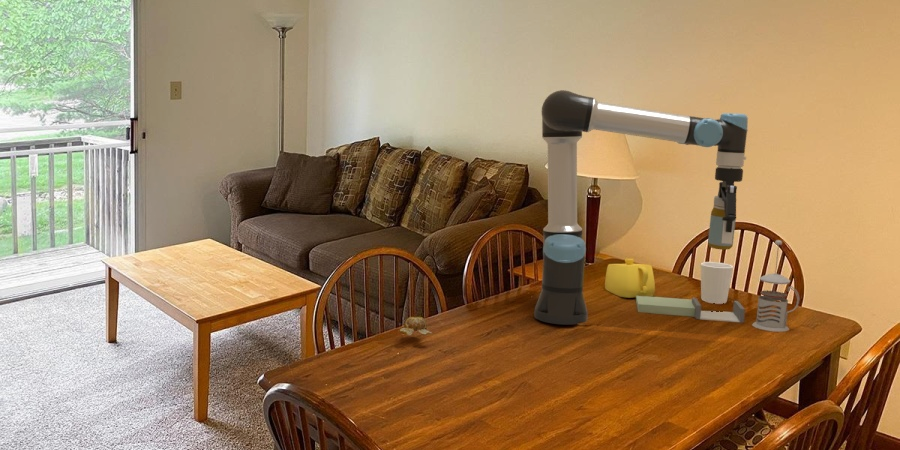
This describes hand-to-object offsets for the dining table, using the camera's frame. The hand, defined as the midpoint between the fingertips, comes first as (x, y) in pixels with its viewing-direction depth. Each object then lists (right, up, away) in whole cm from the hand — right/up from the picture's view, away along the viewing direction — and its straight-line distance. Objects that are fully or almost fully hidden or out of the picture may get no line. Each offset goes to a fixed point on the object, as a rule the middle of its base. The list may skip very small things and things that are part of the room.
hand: (722, 240), depth 231 cm
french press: (+12, -25, -7) cm, 29 cm away
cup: (+4, -21, +19) cm, 29 cm away
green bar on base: (-8, -22, +7) cm, 24 cm away
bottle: (+1, -2, +4) cm, 5 cm away
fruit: (-87, -25, -30) cm, 96 cm away
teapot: (-22, -18, +24) cm, 38 cm away
